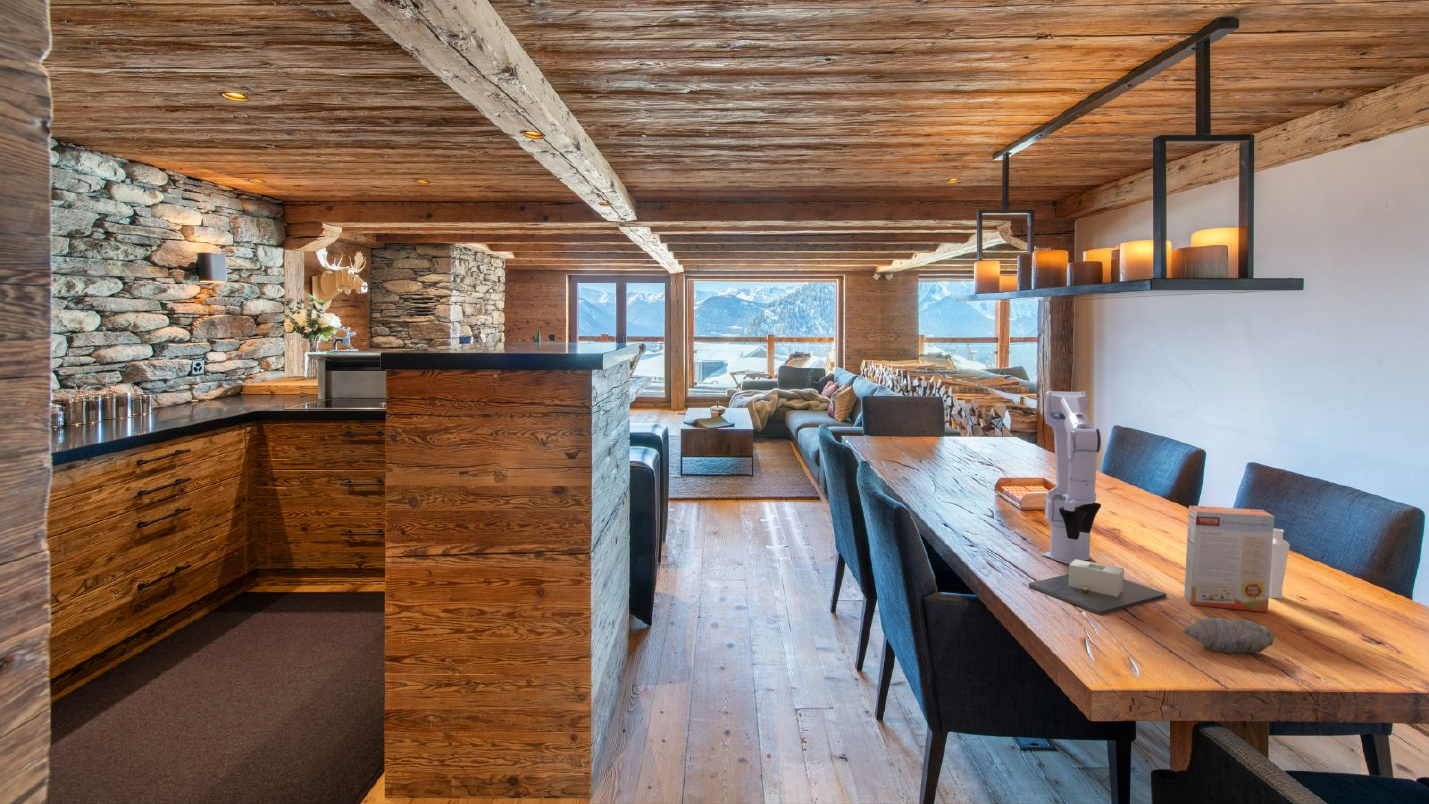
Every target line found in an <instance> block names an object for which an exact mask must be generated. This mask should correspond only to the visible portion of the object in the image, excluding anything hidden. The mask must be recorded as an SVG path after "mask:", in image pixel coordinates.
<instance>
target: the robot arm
mask: <svg viewBox="0 0 1429 804" xmlns="http://www.w3.org/2000/svg"><path fill="white" fill-rule="evenodd" d="M1088 398H1089V397H1088V394H1087V393H1086V391H1084V390H1083V391H1054V390H1053V391H1052V390H1047V391H1046V392H1045V393H1044V398H1043V411H1044V413H1043V414H1044V420H1045V424H1046V425H1048V426H1049V427H1051V429H1052V433H1053V438H1054V455H1055V456H1054V458H1055V477H1056V480H1055V481H1056V485H1055V486H1054V487H1053V488H1051V489H1050V490H1048V491H1047V493H1046V495H1045V502H1044V503H1045V505H1044V515H1045V520H1047V522H1049V523H1050V534H1049V535H1050V538H1049V540H1050V541H1049V551H1047V552H1042V553H1041V556H1043V557H1046V558H1049V559H1053V560H1055V561H1057V562H1058V561H1059V562H1061V563H1062V564H1067V565H1068V564H1069V565H1070V564H1071V563H1072V562H1073V561H1074V560H1075V559H1077V560H1082V561H1089V560H1092V559H1093V556H1090V551H1091V549H1090V548H1091V546H1090V545H1091V531H1092V528H1093V525H1094V521H1095V518H1096V516H1097V514H1098V512H1099V511H1100V509H1101V507H1102V504H1101V503H1098V502H1096V501H1097V492H1096V478H1097V461H1098V454H1100V451H1101V448H1102V447H1101V446H1102V435H1101V434H1102V433H1101V431H1100V428H1098V427H1094V426H1093V424H1092V423H1091V420H1090V418H1089V416H1088V415H1087V412H1088V405H1089V400H1088Z"/></svg>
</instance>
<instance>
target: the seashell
mask: <svg viewBox="0 0 1429 804" xmlns="http://www.w3.org/2000/svg"><path fill="white" fill-rule="evenodd" d="M1181 633H1182V634H1184V635H1186V636H1187V637H1189V638H1192V639H1193V640H1194V641H1196V642H1198V643H1200V644H1202V645H1203V647H1205V648H1208V649H1210V650H1212V651H1214V652H1216V651H1217V652H1223V653H1233V654H1242V653H1244V654H1251V653H1252V654H1254V653H1255V654H1256V653H1258V654H1260V653H1262V652H1263V651H1264V650H1265V649H1266V648H1268V647H1271V646H1272V645H1273V644H1274V642H1275V636H1274V635H1275V634H1274V633H1273V632H1271V630H1270V629H1269V628H1268V627H1266V626H1264V625H1262V624H1258V623H1256V622H1254V621H1250V620H1247V619H1235V618H1234V619H1228V618H1225V617H1223V618H1221V617H1216V618H1211V617H1204V618H1203V619H1201V620H1198V621H1195V622H1194V623H1192V624H1190V625H1189V626H1185V627H1184V628H1183V629H1182V631H1181Z"/></svg>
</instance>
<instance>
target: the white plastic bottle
mask: <svg viewBox="0 0 1429 804" xmlns="http://www.w3.org/2000/svg"><path fill="white" fill-rule="evenodd" d="M1284 532H1285V530H1284V529H1282V528H1281V529H1280V528H1275V527H1274V528H1273V544H1272V558H1271V573H1270V586H1269V598H1270V599H1284V596H1283V587H1284V586H1283V585H1284V581H1285V580H1284V579H1285V574H1286V568H1287V562H1288V557H1289V553H1290V552H1289V551H1290V546H1291V545H1290V543H1289V542H1288V541H1287V540H1285V539H1283V538H1284Z"/></svg>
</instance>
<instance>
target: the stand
mask: <svg viewBox="0 0 1429 804" xmlns="http://www.w3.org/2000/svg"><path fill="white" fill-rule="evenodd" d="M1068 581H1069V573H1067V574H1063V575H1059V576H1054V577H1049V578H1045V579H1041V580H1037V581H1032V582H1028V586H1029V588H1031V587H1032V589H1034V590H1036V589H1037V591H1039V592H1042V593H1044V594H1046V595H1049V596H1051V597H1054V598H1057V599H1059V600H1061V601H1064V602H1067V603H1068V604H1072V605H1075V606H1077V607H1079V608H1082V609H1085V610H1087V611H1089V612H1090V613H1091V612H1092V613H1095V614H1097V615H1099V616H1102V615H1105V614H1109V613H1112V612H1117V611H1120V610H1123V609H1128V608H1131V607H1134V606H1139V605H1142V604H1146V603H1149V602H1153V601H1157V600H1160V599H1165V598H1166V597H1167V593H1165V592H1163V591H1160V590H1157V589H1154V588H1152V587H1149V586H1145V585H1142V584H1139V583H1136V582H1134V581H1130V580H1127V579H1124V578H1123V590H1122V592H1121V593H1120V594H1119V596H1118V597H1116V596H1112V595H1107V594H1103V593H1098V592H1094V591H1089V590H1088V586H1082V589H1080V588H1075V587H1071V586H1068Z"/></svg>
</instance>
